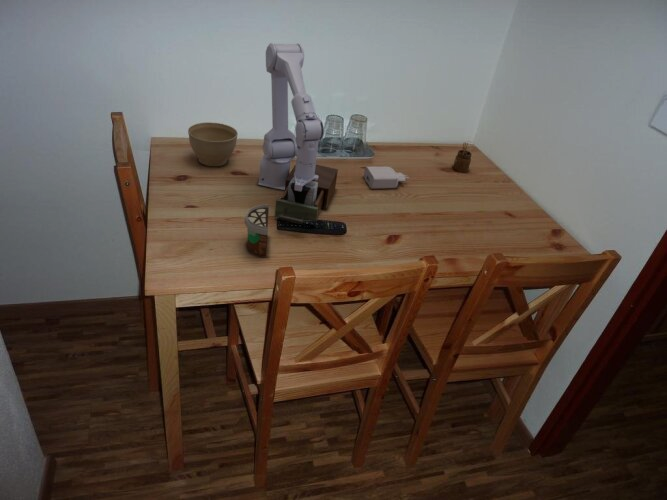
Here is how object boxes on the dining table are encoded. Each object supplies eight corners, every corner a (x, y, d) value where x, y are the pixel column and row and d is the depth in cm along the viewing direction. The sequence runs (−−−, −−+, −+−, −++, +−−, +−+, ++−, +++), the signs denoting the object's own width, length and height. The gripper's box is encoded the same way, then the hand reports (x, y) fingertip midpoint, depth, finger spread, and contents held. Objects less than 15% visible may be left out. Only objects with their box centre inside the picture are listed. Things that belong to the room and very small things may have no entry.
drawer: (310, 236, 144) (312, 219, 141) (268, 226, 145) (269, 209, 142) (325, 204, 160) (327, 188, 156) (287, 196, 161) (288, 180, 157)
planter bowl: (232, 174, 170) (233, 143, 164) (183, 168, 169) (182, 137, 163) (240, 154, 183) (241, 125, 177) (195, 148, 182) (194, 119, 176)
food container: (245, 232, 143) (246, 202, 137) (267, 234, 143) (269, 203, 138) (242, 259, 133) (243, 226, 127) (266, 260, 133) (268, 228, 128)
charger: (411, 189, 178) (371, 190, 174) (401, 176, 185) (363, 177, 181) (414, 177, 175) (374, 177, 171) (404, 165, 182) (365, 165, 178)
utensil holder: (469, 169, 198) (478, 140, 192) (464, 174, 194) (473, 145, 187) (455, 164, 201) (464, 135, 194) (450, 169, 196) (458, 140, 189)
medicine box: (315, 207, 155) (318, 181, 150) (311, 214, 152) (315, 188, 147) (290, 201, 156) (292, 176, 151) (286, 208, 152) (288, 182, 148)
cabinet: (325, 210, 159) (328, 188, 154) (283, 201, 160) (285, 179, 156) (335, 189, 170) (338, 169, 166) (296, 181, 172) (297, 160, 167)
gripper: (313, 173, 139) (308, 216, 146) (325, 153, 151) (320, 193, 158) (288, 168, 139) (285, 210, 147) (302, 148, 151) (298, 188, 159)
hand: (301, 201), depth 153 cm, fingers open, 5 cm apart
